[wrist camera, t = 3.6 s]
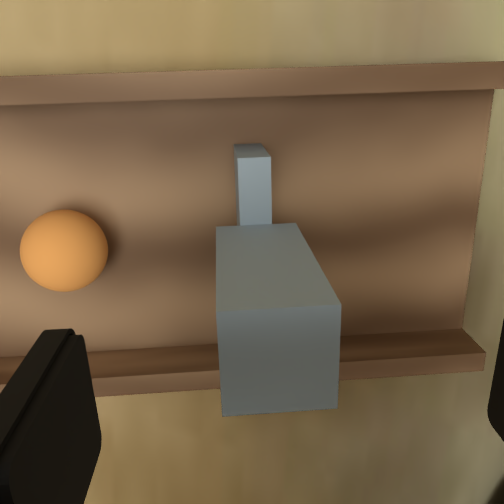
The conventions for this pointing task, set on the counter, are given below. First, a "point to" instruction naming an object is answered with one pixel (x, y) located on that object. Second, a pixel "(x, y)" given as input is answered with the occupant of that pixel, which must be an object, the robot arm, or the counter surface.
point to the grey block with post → (272, 306)
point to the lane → (224, 208)
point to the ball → (63, 250)
